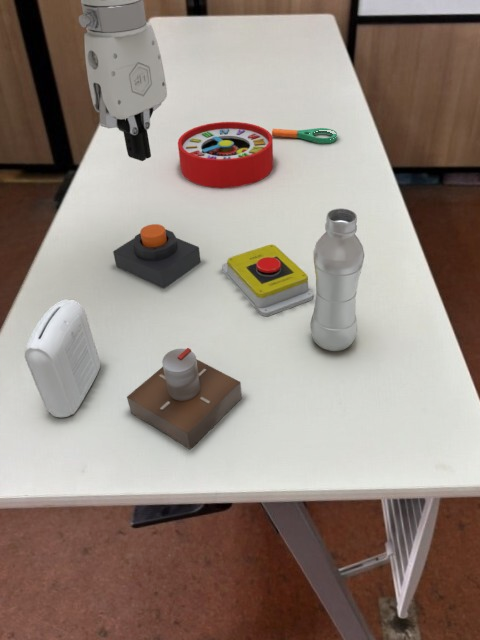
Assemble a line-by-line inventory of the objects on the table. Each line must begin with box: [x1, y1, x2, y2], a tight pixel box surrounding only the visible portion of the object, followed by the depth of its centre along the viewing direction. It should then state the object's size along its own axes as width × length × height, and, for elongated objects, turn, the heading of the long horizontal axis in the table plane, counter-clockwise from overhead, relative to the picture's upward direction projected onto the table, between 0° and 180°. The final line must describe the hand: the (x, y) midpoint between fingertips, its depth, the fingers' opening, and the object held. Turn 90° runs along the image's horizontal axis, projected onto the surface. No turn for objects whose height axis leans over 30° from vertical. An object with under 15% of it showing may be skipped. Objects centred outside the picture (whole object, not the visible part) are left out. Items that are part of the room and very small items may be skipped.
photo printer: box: [24, 298, 101, 418], centre depth 71 cm, size 10×4×12 cm, turn 170°
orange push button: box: [139, 223, 167, 247], centre depth 93 cm, size 4×4×2 cm
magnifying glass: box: [271, 127, 338, 144], centre depth 134 cm, size 15×6×2 cm, turn 81°
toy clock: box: [177, 121, 274, 189], centre depth 122 cm, size 20×6×20 cm
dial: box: [161, 347, 200, 401], centre depth 69 cm, size 4×4×5 cm
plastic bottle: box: [309, 208, 365, 352], centre depth 75 cm, size 6×7×20 cm
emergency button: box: [221, 244, 314, 317], centre depth 91 cm, size 9×4×15 cm
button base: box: [112, 228, 202, 289], centre depth 95 cm, size 11×9×5 cm
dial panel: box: [126, 358, 243, 450], centre depth 72 cm, size 10×10×3 cm
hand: (139, 156), depth 84 cm, fingers closed
